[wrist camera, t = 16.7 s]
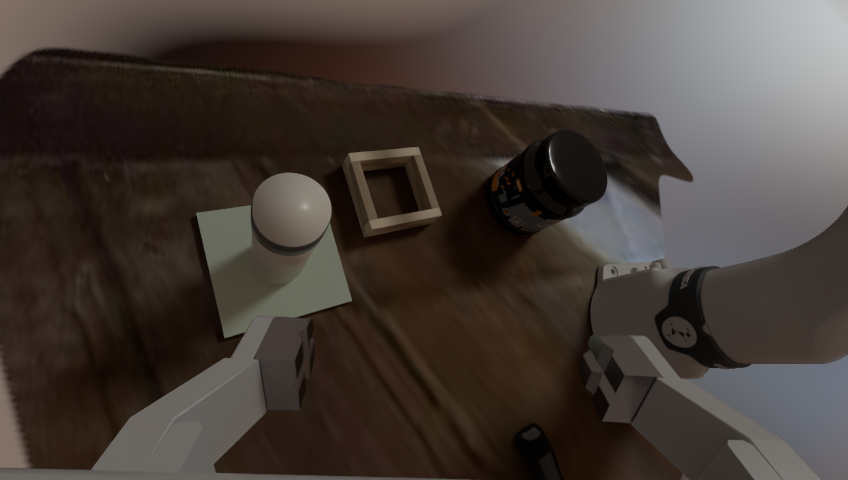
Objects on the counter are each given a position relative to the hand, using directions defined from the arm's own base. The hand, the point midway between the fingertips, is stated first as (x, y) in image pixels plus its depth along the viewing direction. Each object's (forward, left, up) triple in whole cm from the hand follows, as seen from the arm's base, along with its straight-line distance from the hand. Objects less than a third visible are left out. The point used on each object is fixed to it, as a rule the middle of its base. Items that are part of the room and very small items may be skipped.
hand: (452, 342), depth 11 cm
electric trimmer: (-22, +23, -30) cm, 44 cm away
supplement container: (-33, -11, -29) cm, 45 cm away
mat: (0, -10, -29) cm, 31 cm away
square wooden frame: (-14, -15, -29) cm, 36 cm away
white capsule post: (0, -10, -29) cm, 30 cm away
